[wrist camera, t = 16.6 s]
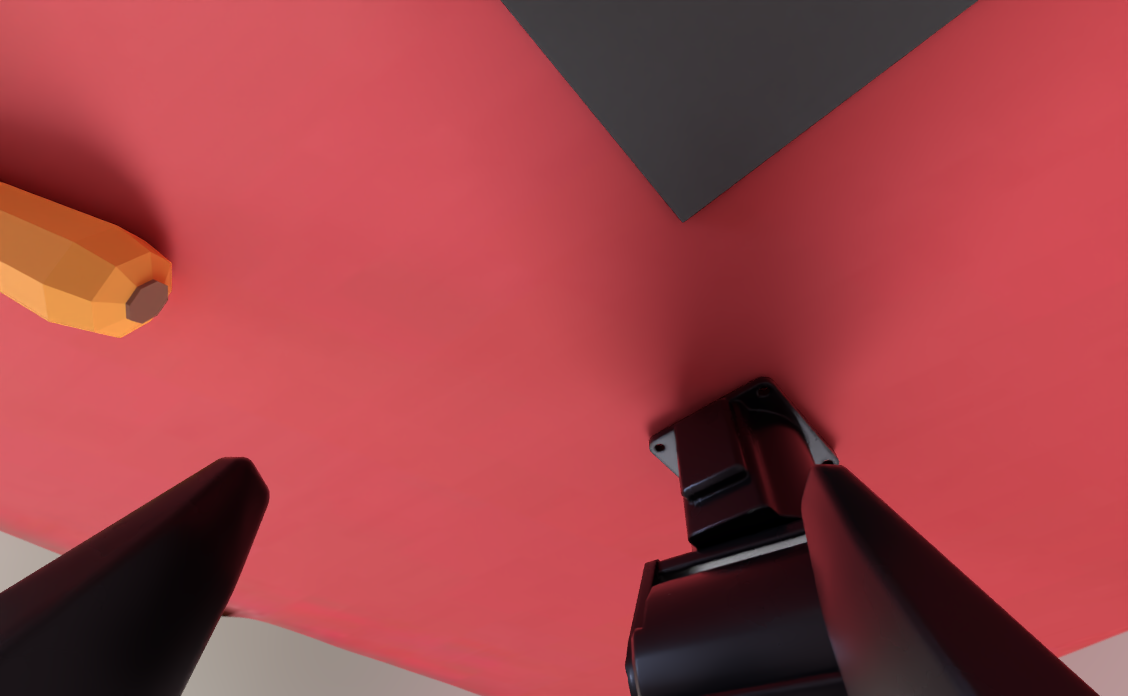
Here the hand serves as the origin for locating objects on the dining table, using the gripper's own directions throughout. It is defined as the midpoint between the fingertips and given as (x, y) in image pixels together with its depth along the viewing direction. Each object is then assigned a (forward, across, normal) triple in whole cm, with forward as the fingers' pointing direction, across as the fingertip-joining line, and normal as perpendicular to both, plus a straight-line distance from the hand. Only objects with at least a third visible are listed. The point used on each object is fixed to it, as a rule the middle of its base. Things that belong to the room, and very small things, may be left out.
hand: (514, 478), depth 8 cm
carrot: (+12, +28, -4) cm, 31 cm away
